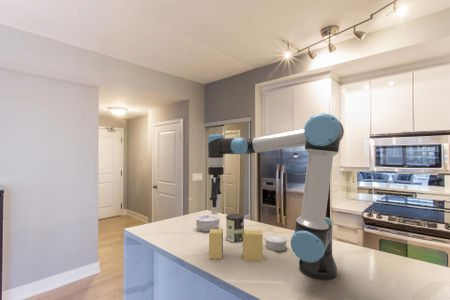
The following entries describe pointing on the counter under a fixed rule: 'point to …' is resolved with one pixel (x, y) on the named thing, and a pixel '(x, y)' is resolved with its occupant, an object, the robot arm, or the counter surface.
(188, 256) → the counter surface
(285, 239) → the ramekin
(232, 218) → the coffee can
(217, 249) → the stub
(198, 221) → the paper bowls
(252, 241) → the tall yellow box
